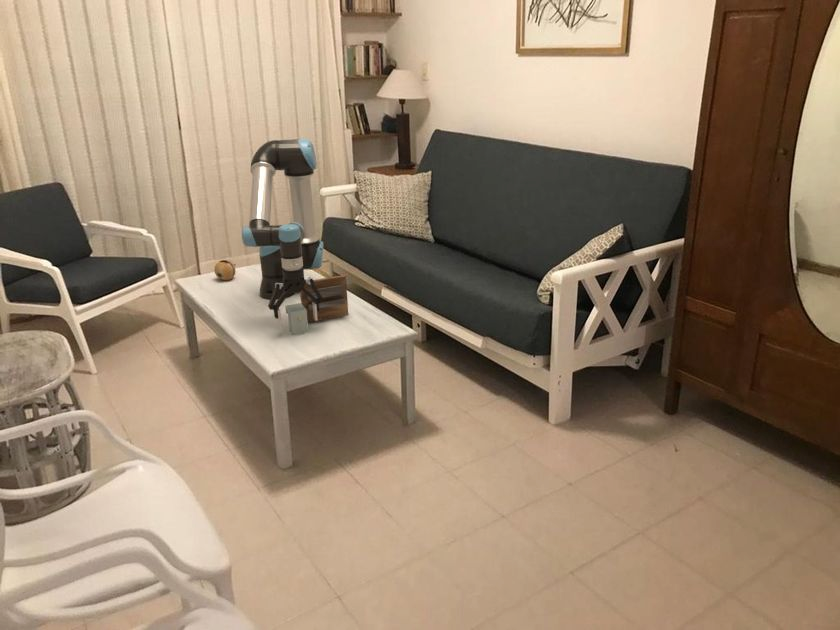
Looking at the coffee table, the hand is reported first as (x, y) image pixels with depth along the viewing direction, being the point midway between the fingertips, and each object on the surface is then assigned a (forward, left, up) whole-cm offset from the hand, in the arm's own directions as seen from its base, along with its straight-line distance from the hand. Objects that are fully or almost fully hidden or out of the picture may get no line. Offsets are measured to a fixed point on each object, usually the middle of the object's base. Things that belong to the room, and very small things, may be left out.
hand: (297, 322), depth 255 cm
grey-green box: (0, 0, -4) cm, 4 cm away
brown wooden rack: (-8, +13, -4) cm, 16 cm away
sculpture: (-76, -13, -4) cm, 78 cm away
